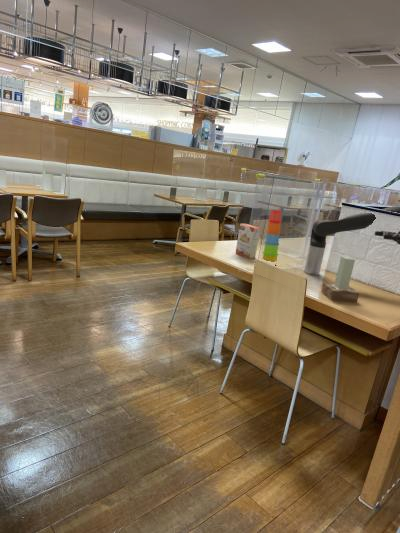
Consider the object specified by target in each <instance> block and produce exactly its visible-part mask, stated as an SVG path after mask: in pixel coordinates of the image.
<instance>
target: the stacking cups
mask: <svg viewBox="0 0 400 533" xmlns="http://www.w3.org/2000/svg"><path fill="white" fill-rule="evenodd" d="M268 219H269V220H268V224H267V230H266V234H265V235H266V236H265V237H266V238H265V241H264V248H263V251H262V254H263V255H262V260H263V259H264V260H266V261H271V262H275V261H276V262H277V260H278V256H279V253H278V252H279V251H278V250H279V245H280V243H279V242H280V234H281V232H280V231H281V226H282V225H281V224H282V210H278V209H277V210H276V209H272V210H270V213H269V218H268Z"/></svg>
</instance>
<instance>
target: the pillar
mask: <svg viewBox="0 0 400 533" xmlns="http://www.w3.org/2000/svg"><path fill="white" fill-rule="evenodd" d="M355 261H356V260H355V258H353V257H351V256H344V255H342V256H340V260H339V264H338V268H337V271H336V272H337V273H336V277H335V280H334V283H333V284H334V286H335V287H337V288H338V289H345V290H348V286H350V281H351V277H352V275H353V273H352V272H353V269H354V265H355Z"/></svg>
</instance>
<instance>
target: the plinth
mask: <svg viewBox="0 0 400 533" xmlns="http://www.w3.org/2000/svg"><path fill="white" fill-rule="evenodd" d="M334 284H335V283H329V282H328V283H325V282H323V283H322V288H321V293H322V294H324V296H326V297H327V298H328V299H329V300H330V301H338V302H351V303H357V302H358V300H359V296H360V292H358V291H357V290H355V289H354V288H353V287H351V286H350V285H349V286H348V290H345V289H338V288H337V287H335V286H334Z"/></svg>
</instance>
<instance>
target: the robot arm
mask: <svg viewBox="0 0 400 533" xmlns="http://www.w3.org/2000/svg"><path fill="white" fill-rule="evenodd" d="M382 210H386V211H391V212H397V213H400V205H397V206H396V205H395V206H390V207H386V208H382ZM375 219H376V217H375V215H374V214H372V213H367V212H362V213H361V212H360V213H355V214H350V215H348V216H345V217H343V218H340V219H338V220H336V219H335V220H324V219H317V220H316V221H315V222H314V223H313V224H312V228H311V232H310V234H311V235H310V237H309V238H310V242H309V247H308V251H307V252H308V253H307V256H306V261H305V266H304V270H303V271H304V273H307V274H309V275H314V276H317V275H320V272H321V269H322V264H323V260H324V259H323V258H324V254H325V251H326V246H327V240H326V239H327V236H330V235H333V234H337V233H341V232H342V233H343V232H351V231H359V230H364V229H367V228H368V227H370V226H372V223H373V221H374V220H375ZM373 224H374V223H373ZM369 225H370V226H369ZM374 236H378V237H383V240H389V241H393V242H396V243H397V245H400V230H398V232H394V231H385V230H380V231H377V230H376V231H375V232H374Z"/></svg>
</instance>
